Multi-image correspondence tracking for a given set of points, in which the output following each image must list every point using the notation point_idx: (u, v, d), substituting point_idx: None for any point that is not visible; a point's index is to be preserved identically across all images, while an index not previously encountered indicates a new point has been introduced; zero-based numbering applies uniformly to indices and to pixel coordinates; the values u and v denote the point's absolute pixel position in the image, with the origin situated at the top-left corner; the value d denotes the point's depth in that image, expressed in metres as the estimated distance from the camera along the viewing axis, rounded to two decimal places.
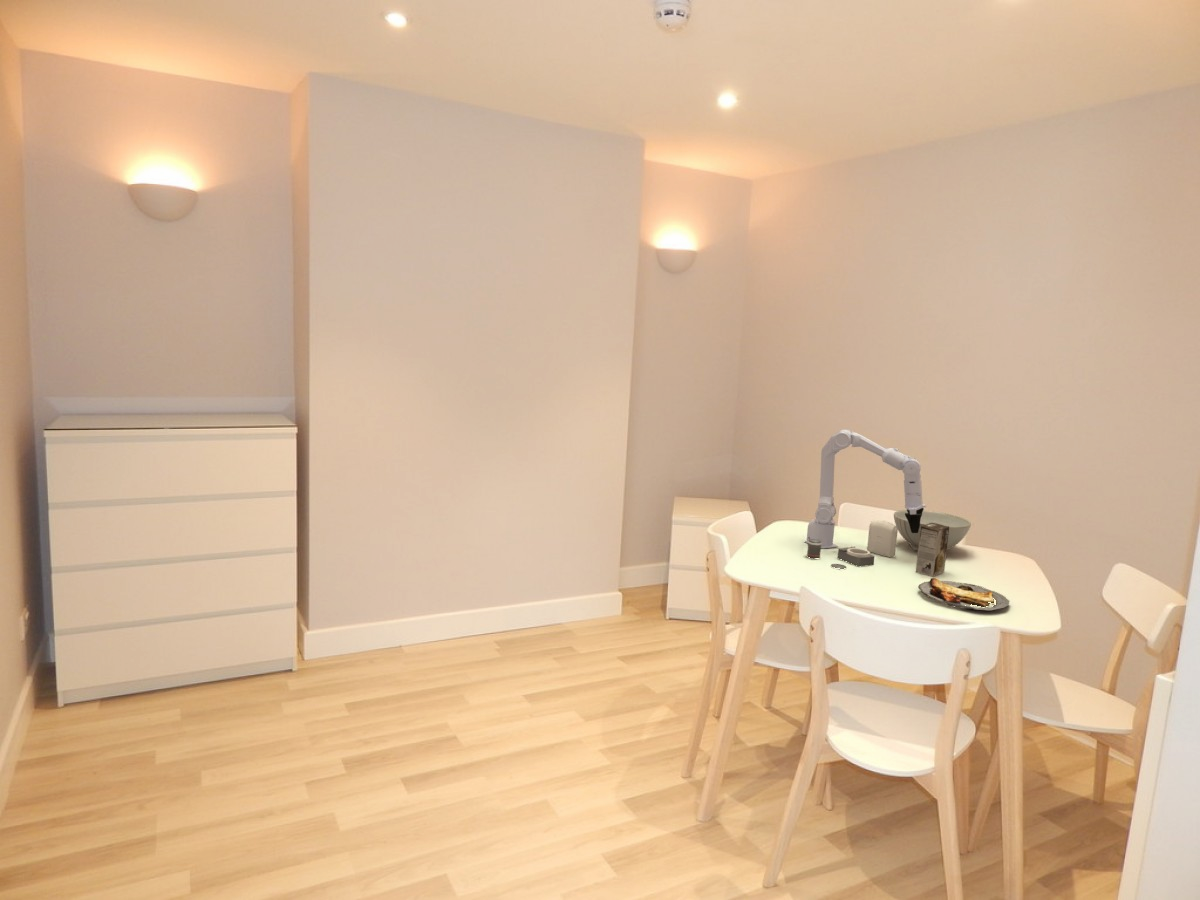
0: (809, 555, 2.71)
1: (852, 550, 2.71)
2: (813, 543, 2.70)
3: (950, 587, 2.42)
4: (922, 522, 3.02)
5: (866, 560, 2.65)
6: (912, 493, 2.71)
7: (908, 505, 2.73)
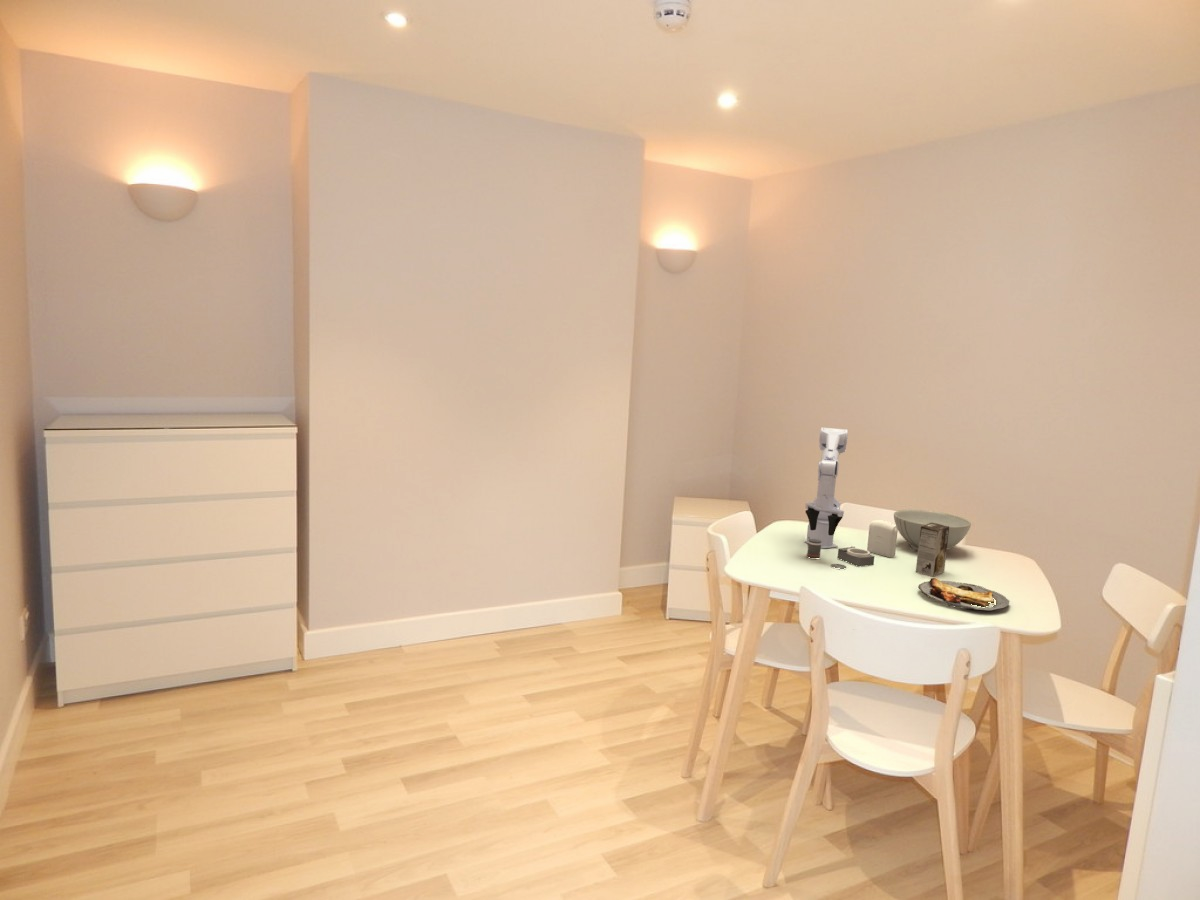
0: (809, 555, 2.71)
1: (852, 550, 2.71)
2: (813, 543, 2.70)
3: (950, 587, 2.42)
4: (922, 522, 3.02)
5: (866, 560, 2.65)
6: (817, 492, 2.68)
7: None
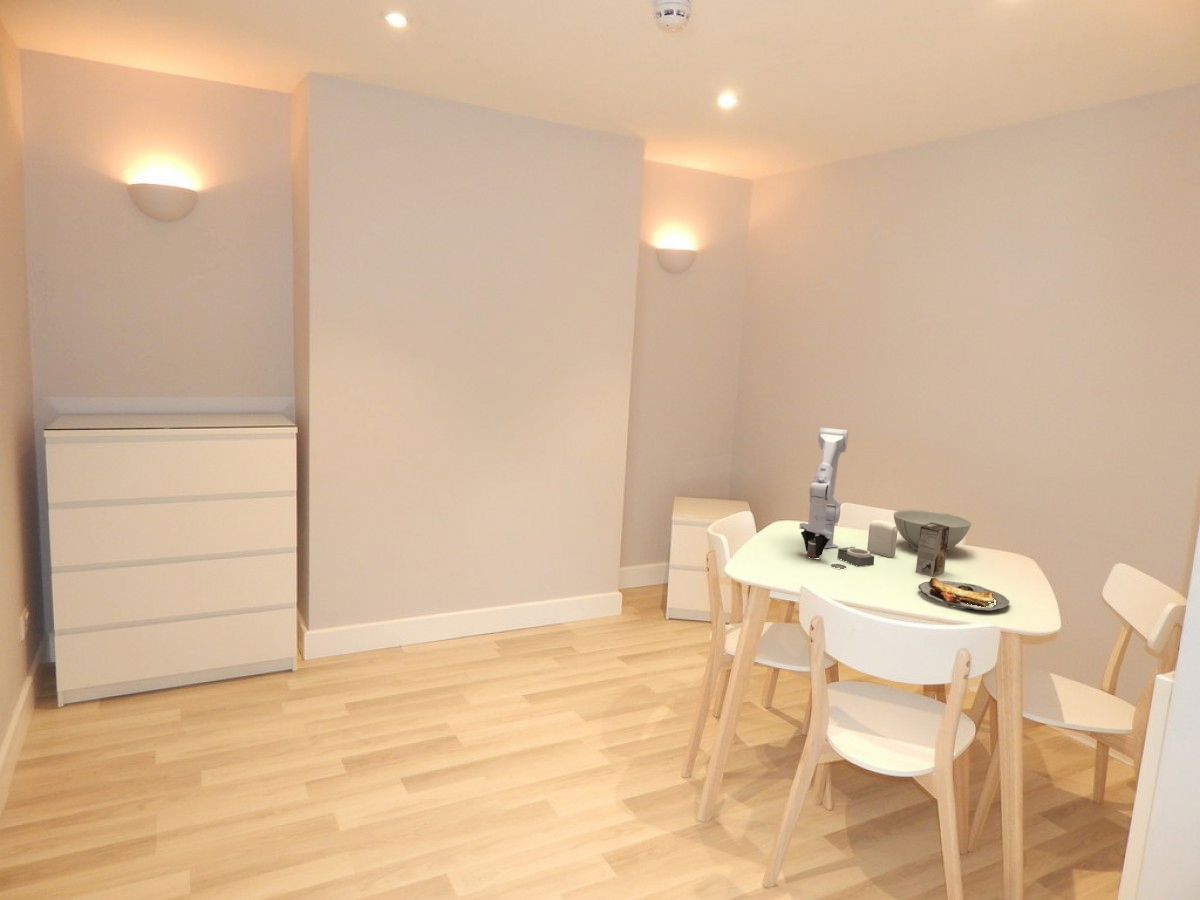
0: (809, 555, 2.71)
1: (852, 550, 2.71)
2: (813, 543, 2.70)
3: (950, 587, 2.42)
4: (922, 522, 3.02)
5: (866, 560, 2.65)
6: None
7: None
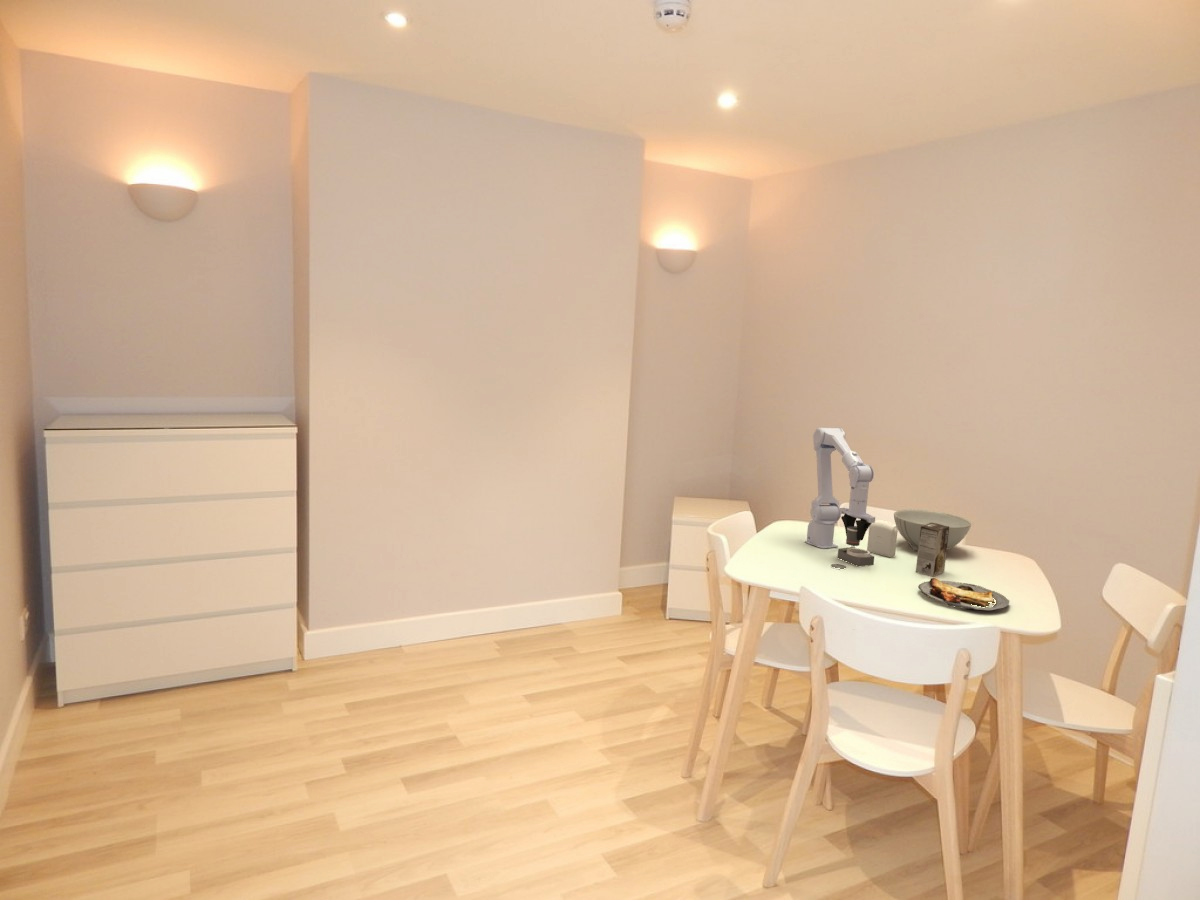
0: (848, 541, 2.67)
1: (852, 550, 2.71)
2: (851, 529, 2.66)
3: (950, 587, 2.42)
4: (922, 522, 3.02)
5: (866, 560, 2.65)
6: (851, 499, 2.65)
7: None
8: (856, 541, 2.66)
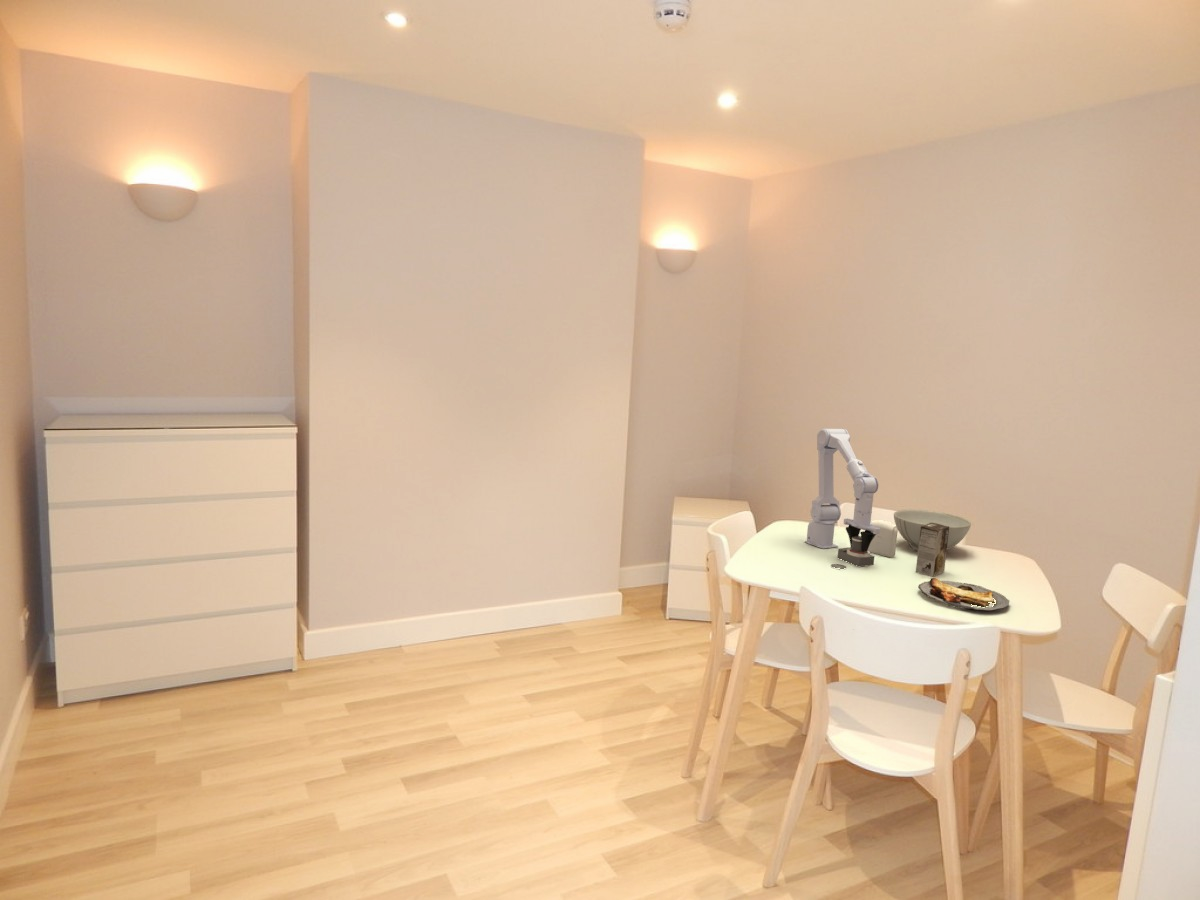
0: (852, 551, 2.67)
1: None
2: (856, 539, 2.66)
3: (950, 587, 2.42)
4: (922, 522, 3.02)
5: (866, 560, 2.65)
6: (855, 510, 2.65)
7: None
8: (861, 551, 2.66)
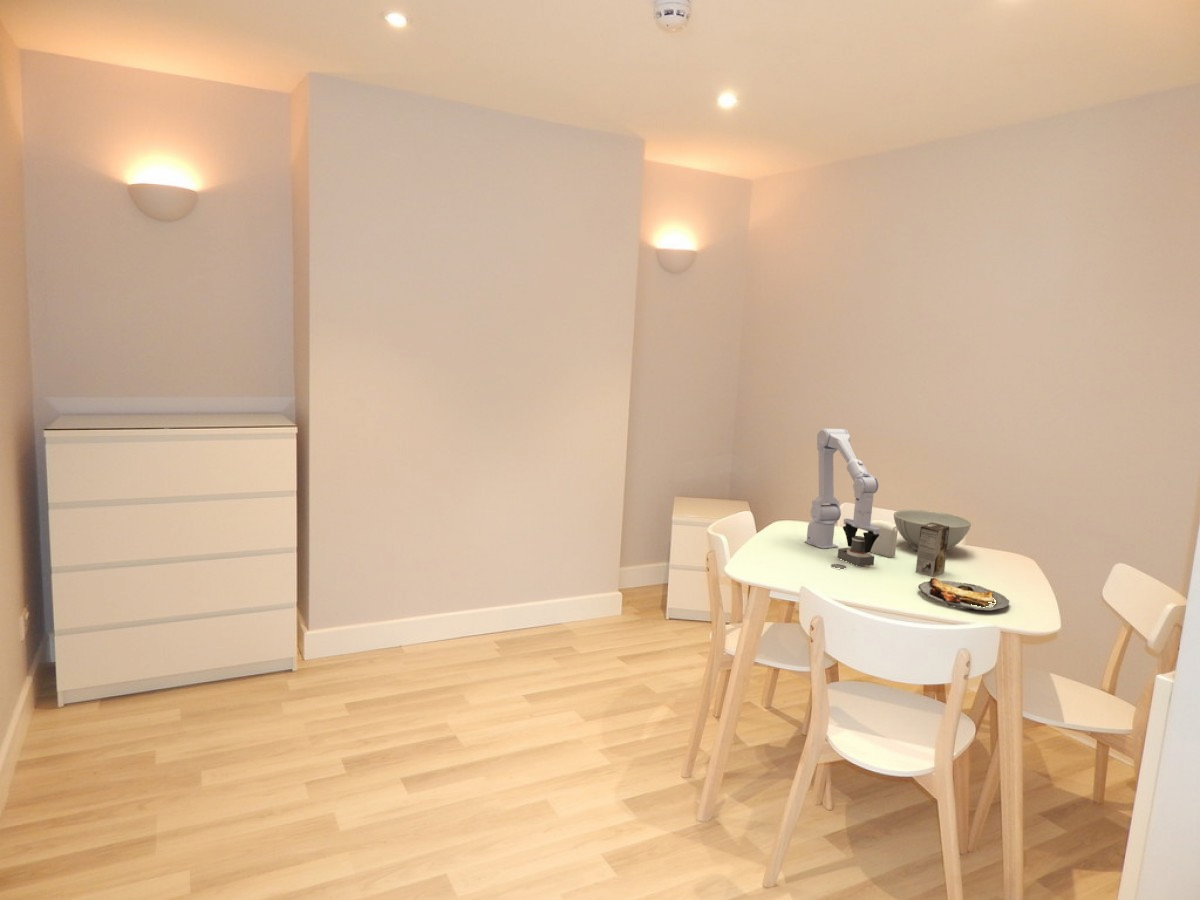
0: (852, 551, 2.67)
1: None
2: (856, 539, 2.66)
3: (950, 587, 2.42)
4: (922, 522, 3.02)
5: (866, 560, 2.65)
6: (855, 510, 2.65)
7: None
8: (861, 551, 2.66)
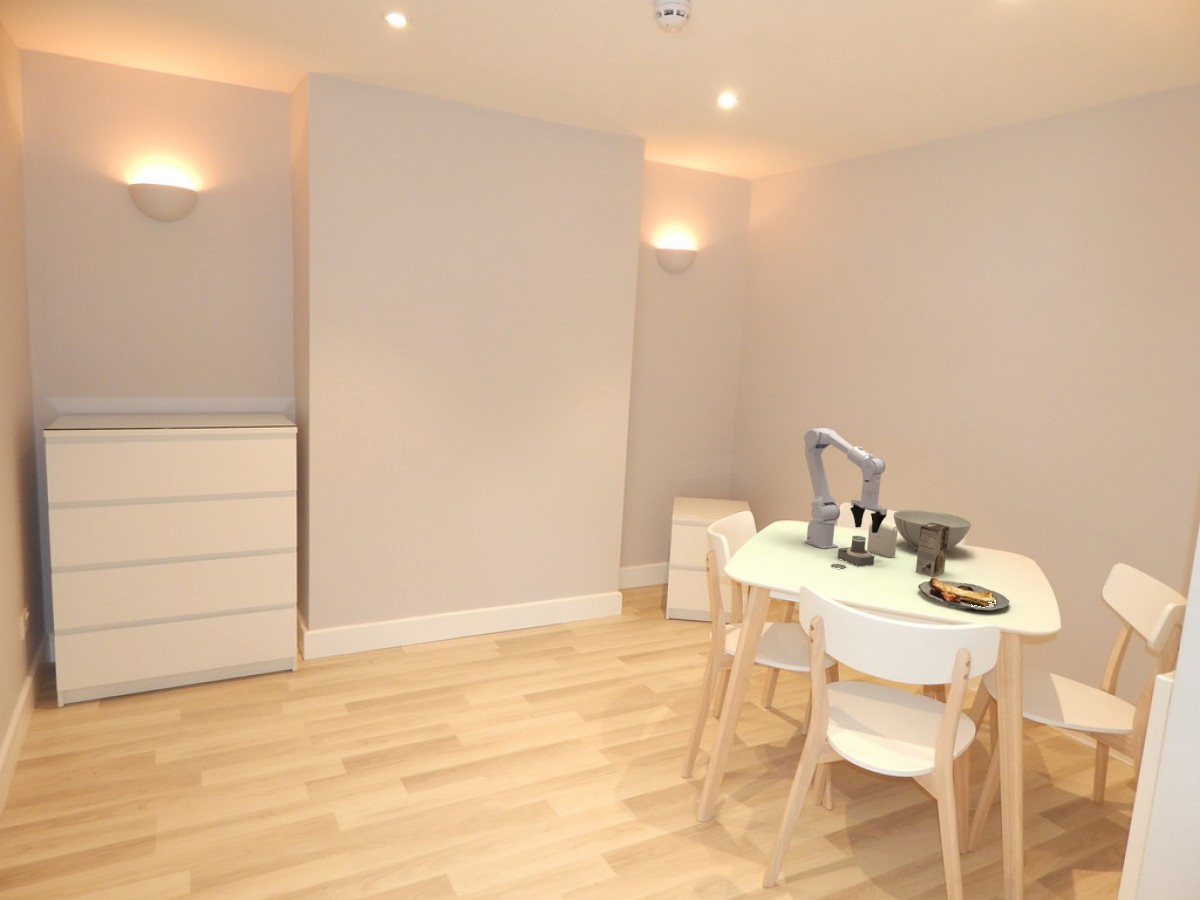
0: (852, 551, 2.67)
1: None
2: (856, 539, 2.66)
3: (950, 587, 2.42)
4: (922, 522, 3.02)
5: (866, 560, 2.65)
6: (865, 491, 2.69)
7: None
8: (861, 551, 2.66)
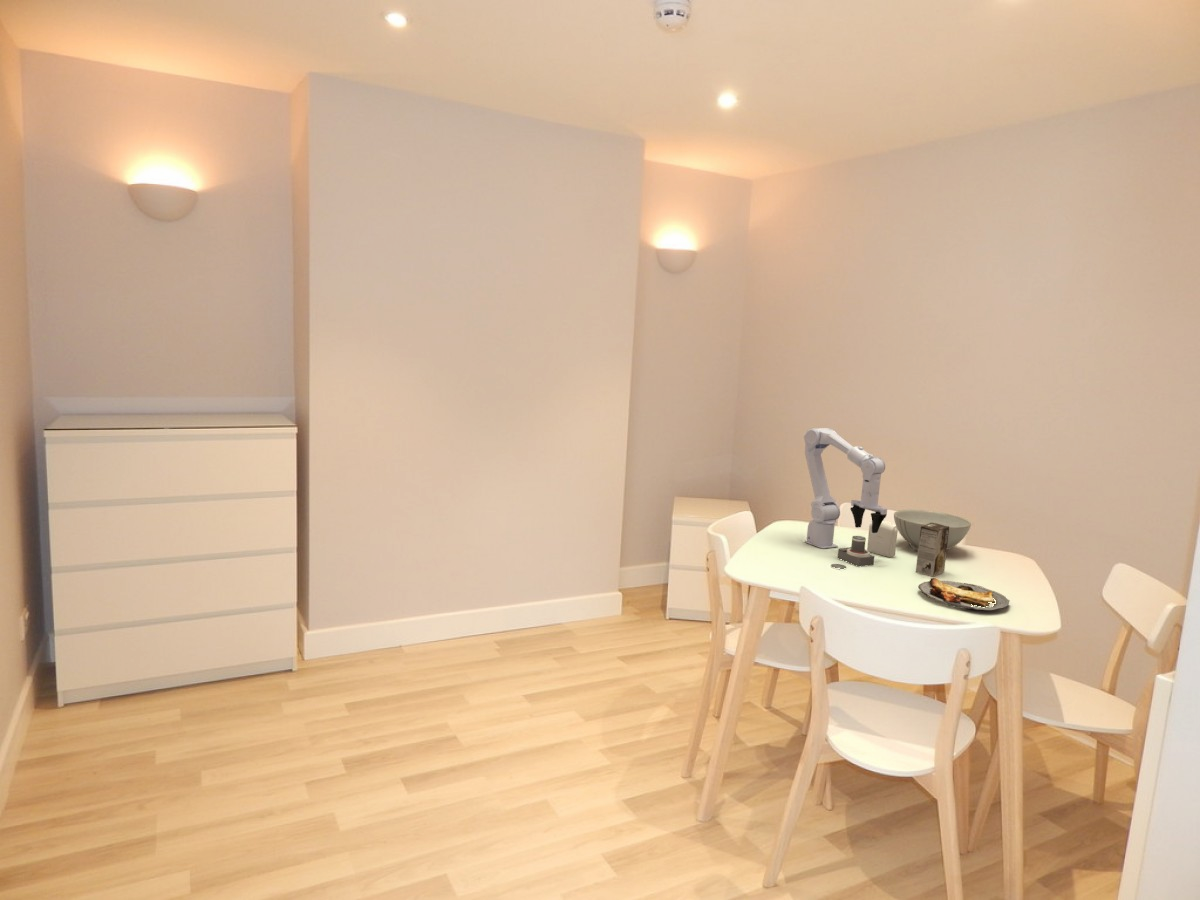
0: (852, 551, 2.67)
1: None
2: (856, 539, 2.66)
3: (950, 587, 2.42)
4: (922, 522, 3.02)
5: (866, 560, 2.65)
6: (865, 491, 2.69)
7: None
8: (861, 551, 2.66)
